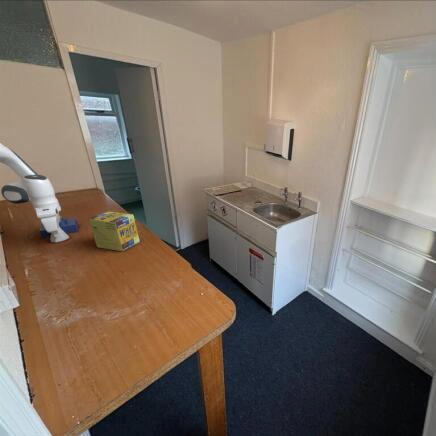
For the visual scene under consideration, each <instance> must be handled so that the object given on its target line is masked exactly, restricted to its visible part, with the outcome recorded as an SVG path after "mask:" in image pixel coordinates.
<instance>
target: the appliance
mask: <svg viewBox="0 0 436 436" xmlns="http://www.w3.org/2000/svg"><path fill="white" fill-rule="evenodd" d="M62 219H63V220H61V221H59V227H60V228H61V229H62V230H63V231H64V232H65V233H66V234H67V235H68V234H72V233H76V232H79V222H78V220H77V218H76V217H73V218H68V219H67V217H62ZM39 234H40V237H41V238H42V239H46V238H51V233H48V232H47V231H46V229H45V228H44V226H43V224H42V223H41V224H40V227H39Z"/></svg>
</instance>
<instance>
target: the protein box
mask: <svg viewBox="0 0 436 436" xmlns="http://www.w3.org/2000/svg"><path fill="white" fill-rule="evenodd" d="M87 221H88V222H89V225H90V229H91V232H92V236H93V238H94V242H95V245H96V248H100V249H105V250H110V251H111V250H113V251H118V252H125V251H127V250H128V249H130V248H132V247H133V246H135V245H137V244H139V243H140V237H139V232H138V228H137V225H136V219H135V216H134V214H132V213H124V212H116V211H115V212H114V211H106V212H103V213H101V214H98V215H95V216H92V217H90V218H88V220H87Z"/></svg>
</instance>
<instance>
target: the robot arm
mask: <svg viewBox="0 0 436 436" xmlns="http://www.w3.org/2000/svg"><path fill="white" fill-rule="evenodd" d="M0 163H1V164H4V165H6V166H7V167H9V168H10V169H11V171H13V172H14V173H15V174H16V175H17V176H18V177H19V178H20V179H19V180H16V181H14V182H10V183H8V184H5V185H3V186H2V187H1V189H0V193H1V196H2V198H4V200H6V201H7V202H9V203H10V204H11V203H12V204H14V205H15V204H16V205H18V204H26V203H31V205H32V207H33V210H34V212H35V214H36V218H37V219H40V222H41V224H43V226H44V228H45V229H46V231H47V232H48V233H51V232H52V233H53V234H54V237H59V236H60V235H59V232H58V228H59V221H60V216H61V215H60V212H61V211H62V207H61V204H60V202H59V200H58V198H57V197H56V192H55V188H54V186H53V184H52V182H51V180H50V179H49V178H48V177H47V176H45V175H41V174H38V173H37V172H36V171H35V170H34V169H33V168H32V167H31V166H30V165H29V164H28V163H27V162H26V161H25V160H24V159H23V158H22V157H21V156H20V155H18V154H17V153H16V152H15V151H14V150H12V149H11V148H10V147H7V146H5V145H4V144H2V143H1V142H0Z"/></svg>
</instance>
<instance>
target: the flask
mask: <svg viewBox="0 0 436 436" xmlns="http://www.w3.org/2000/svg"><path fill="white" fill-rule="evenodd" d="M58 232H59V235H60V236H59V237H54V234H53V233H52V232H51V237H50V242H51V243H60V242H64V241H66V240H68V239H70V236H69V235H68V233H67V234H66V233H65V232H64V231H63V230H62V229H61V228H60V227H59V228H58Z"/></svg>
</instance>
